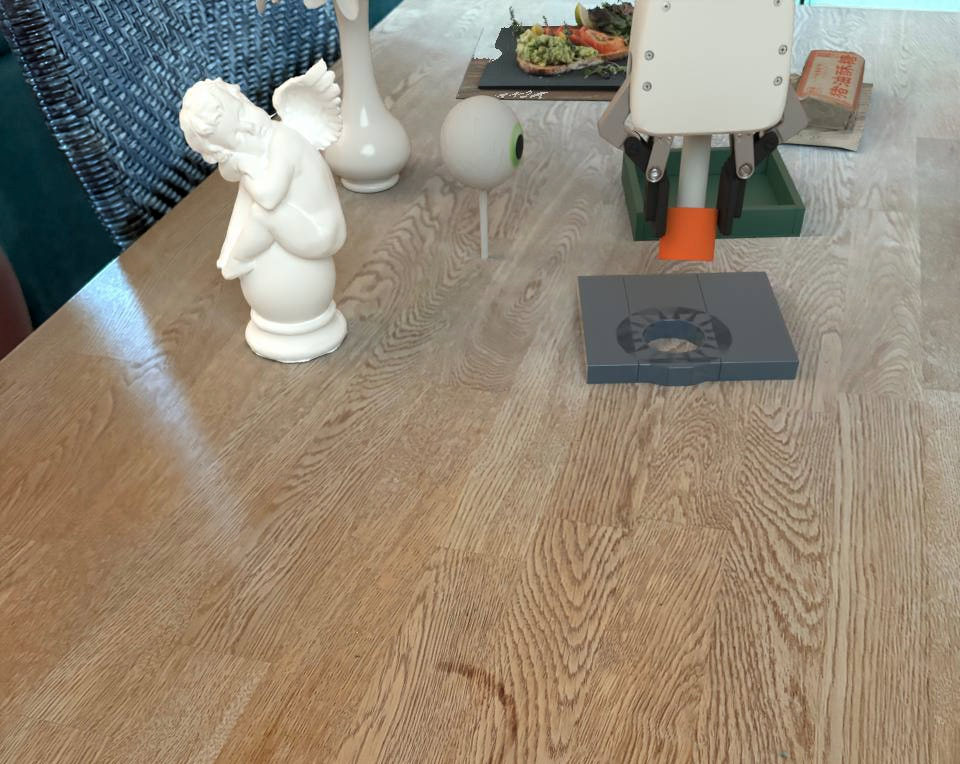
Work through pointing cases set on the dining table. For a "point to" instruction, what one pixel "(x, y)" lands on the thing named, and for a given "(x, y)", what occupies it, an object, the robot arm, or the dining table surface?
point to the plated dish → (557, 58)
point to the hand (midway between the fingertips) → (690, 225)
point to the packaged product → (832, 99)
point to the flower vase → (361, 109)
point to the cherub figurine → (278, 207)
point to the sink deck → (683, 328)
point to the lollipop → (481, 148)
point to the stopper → (691, 207)
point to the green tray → (765, 205)
